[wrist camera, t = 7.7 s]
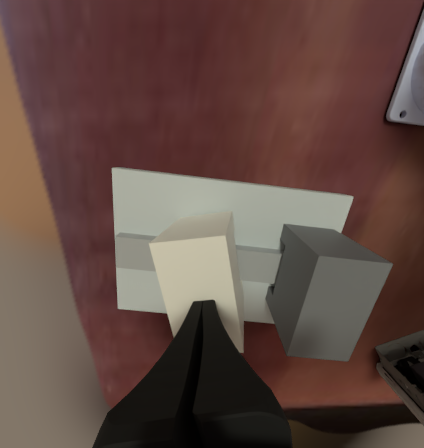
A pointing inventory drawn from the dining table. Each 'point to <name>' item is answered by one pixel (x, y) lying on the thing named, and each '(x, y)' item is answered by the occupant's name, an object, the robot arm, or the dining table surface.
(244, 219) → the rail plate
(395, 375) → the electrical switch
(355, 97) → the dining table surface
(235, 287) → the block
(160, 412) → the robot arm
